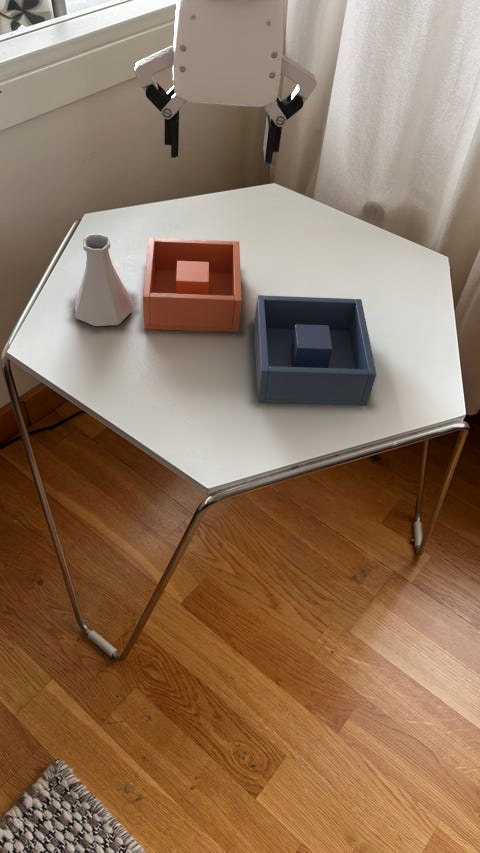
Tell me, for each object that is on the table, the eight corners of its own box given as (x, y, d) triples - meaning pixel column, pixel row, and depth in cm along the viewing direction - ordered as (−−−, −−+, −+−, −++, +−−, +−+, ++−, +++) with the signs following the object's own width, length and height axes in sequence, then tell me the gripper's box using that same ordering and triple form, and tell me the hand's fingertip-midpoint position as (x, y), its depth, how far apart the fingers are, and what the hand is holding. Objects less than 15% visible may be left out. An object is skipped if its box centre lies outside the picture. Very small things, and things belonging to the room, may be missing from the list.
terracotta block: (177, 285, 91) (177, 260, 88) (208, 287, 92) (209, 261, 89) (176, 306, 89) (175, 280, 86) (207, 307, 89) (208, 282, 86)
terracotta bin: (144, 329, 87) (142, 296, 83) (149, 269, 94) (148, 237, 90) (238, 332, 87) (241, 300, 83) (236, 273, 95) (239, 241, 91)
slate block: (293, 372, 83) (297, 348, 80) (290, 348, 85) (294, 323, 82) (326, 373, 83) (332, 349, 80) (323, 349, 86) (329, 325, 82)
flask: (124, 332, 86) (118, 265, 78) (66, 323, 86) (55, 255, 79) (139, 294, 91) (135, 228, 83) (83, 286, 91) (75, 219, 83)
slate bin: (257, 402, 80) (261, 371, 76) (253, 326, 88) (257, 294, 84) (367, 405, 81) (376, 374, 77) (353, 330, 89) (361, 298, 85)
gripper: (328, -40, 64) (300, 141, 77) (134, -57, 62) (139, 131, 75) (338, -10, 59) (306, 178, 72) (128, -27, 57) (134, 168, 70)
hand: (221, 154), depth 74 cm, fingers open, 9 cm apart
